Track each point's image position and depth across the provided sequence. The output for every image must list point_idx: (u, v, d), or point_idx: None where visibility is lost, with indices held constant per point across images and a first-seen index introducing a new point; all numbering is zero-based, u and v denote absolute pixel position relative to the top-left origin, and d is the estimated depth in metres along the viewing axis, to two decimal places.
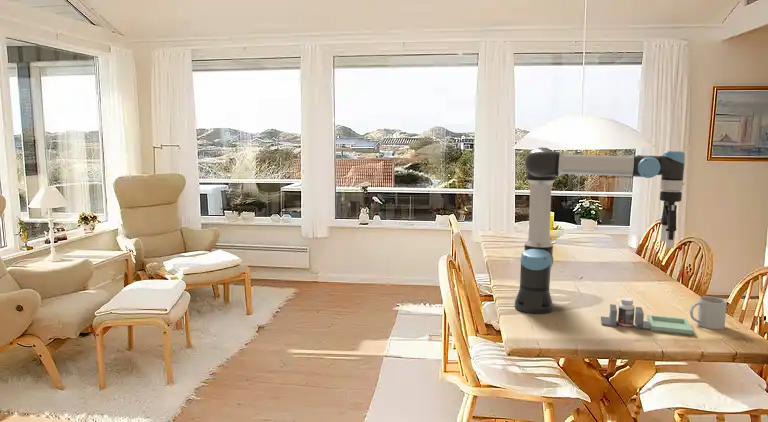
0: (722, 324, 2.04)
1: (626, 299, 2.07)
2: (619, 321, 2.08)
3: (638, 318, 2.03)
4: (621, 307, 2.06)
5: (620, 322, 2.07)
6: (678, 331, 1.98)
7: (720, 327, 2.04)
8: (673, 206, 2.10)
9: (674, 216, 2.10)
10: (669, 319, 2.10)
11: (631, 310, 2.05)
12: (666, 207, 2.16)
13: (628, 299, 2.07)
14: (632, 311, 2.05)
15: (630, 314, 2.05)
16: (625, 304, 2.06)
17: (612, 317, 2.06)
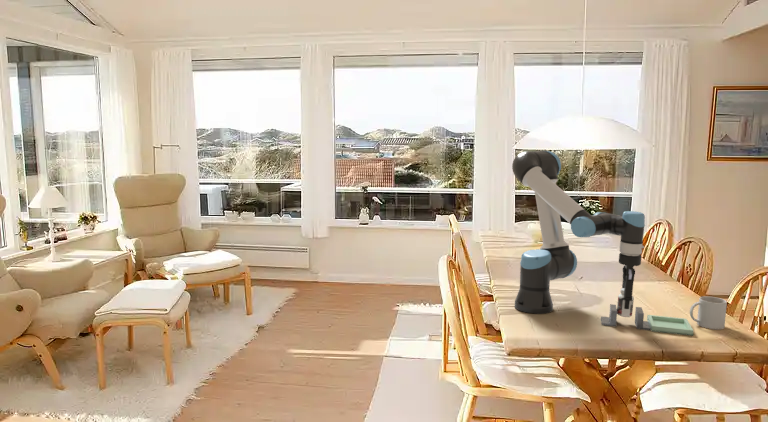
0: (722, 324, 2.04)
1: None
2: (618, 311, 2.08)
3: (638, 318, 2.03)
4: (620, 297, 2.06)
5: (619, 312, 2.07)
6: (678, 331, 1.98)
7: (720, 327, 2.04)
8: (630, 276, 1.99)
9: (631, 286, 2.00)
10: (669, 319, 2.10)
11: None
12: (624, 272, 2.04)
13: None
14: (631, 301, 2.05)
15: None
16: None
17: (612, 317, 2.06)
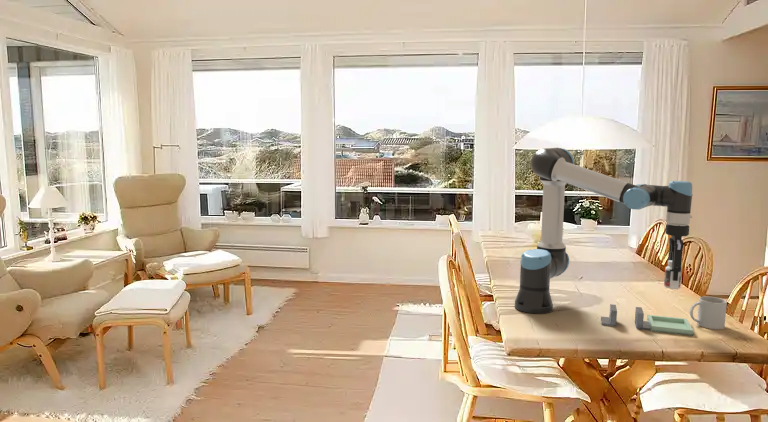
0: (722, 324, 2.04)
1: None
2: (666, 284, 2.02)
3: (638, 318, 2.03)
4: (668, 269, 2.01)
5: (667, 285, 2.02)
6: (678, 331, 1.98)
7: (720, 327, 2.04)
8: (679, 246, 1.95)
9: (680, 256, 1.95)
10: (669, 319, 2.10)
11: None
12: (672, 242, 1.99)
13: None
14: None
15: None
16: None
17: (612, 317, 2.06)
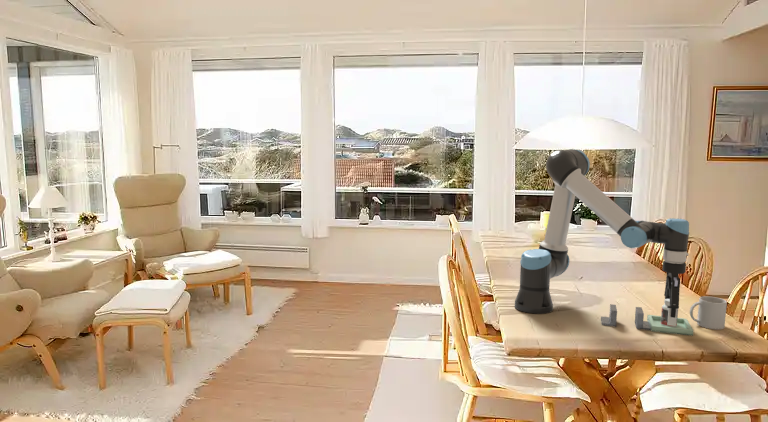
0: (722, 324, 2.04)
1: (669, 300, 2.04)
2: (662, 322, 2.05)
3: (638, 318, 2.03)
4: (664, 308, 2.03)
5: (663, 323, 2.04)
6: (678, 331, 1.98)
7: (720, 327, 2.04)
8: (676, 282, 1.96)
9: (677, 293, 1.96)
10: None
11: None
12: (669, 279, 2.01)
13: None
14: None
15: None
16: (669, 305, 2.03)
17: (612, 317, 2.06)
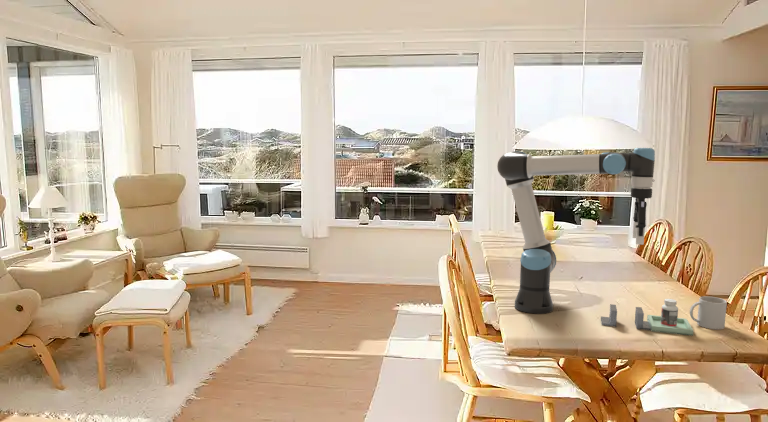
0: (722, 324, 2.04)
1: (669, 300, 2.04)
2: (662, 322, 2.05)
3: (638, 318, 2.03)
4: (664, 308, 2.03)
5: (663, 323, 2.04)
6: (678, 331, 1.98)
7: (720, 327, 2.04)
8: (643, 203, 2.11)
9: (644, 213, 2.10)
10: None
11: (675, 311, 2.02)
12: (637, 204, 2.16)
13: (671, 300, 2.04)
14: (676, 312, 2.02)
15: (674, 315, 2.02)
16: (669, 305, 2.03)
17: (612, 317, 2.06)
